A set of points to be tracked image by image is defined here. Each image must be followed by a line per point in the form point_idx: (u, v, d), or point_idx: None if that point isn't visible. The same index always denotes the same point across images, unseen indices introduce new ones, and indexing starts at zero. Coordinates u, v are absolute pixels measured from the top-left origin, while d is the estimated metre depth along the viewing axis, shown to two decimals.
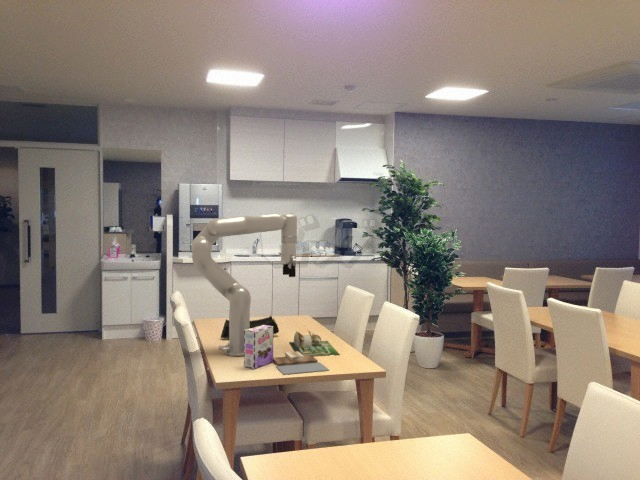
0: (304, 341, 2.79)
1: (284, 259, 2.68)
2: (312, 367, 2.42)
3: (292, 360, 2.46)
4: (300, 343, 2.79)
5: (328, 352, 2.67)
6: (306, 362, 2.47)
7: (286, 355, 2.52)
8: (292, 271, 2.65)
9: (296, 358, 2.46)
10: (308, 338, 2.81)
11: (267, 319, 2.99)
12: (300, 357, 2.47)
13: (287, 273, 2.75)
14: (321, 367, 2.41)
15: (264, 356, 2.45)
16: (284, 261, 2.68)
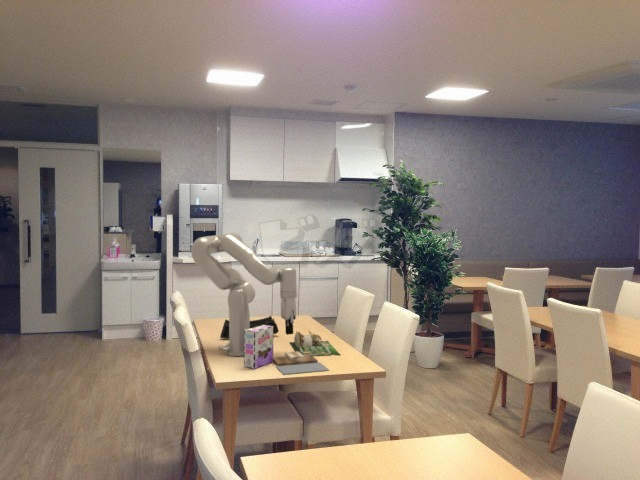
0: (304, 341, 2.79)
1: (284, 315, 2.57)
2: (312, 367, 2.42)
3: (292, 360, 2.46)
4: (300, 343, 2.79)
5: (328, 352, 2.67)
6: (306, 362, 2.47)
7: (286, 355, 2.52)
8: (289, 328, 2.58)
9: (296, 358, 2.46)
10: (308, 338, 2.81)
11: (267, 319, 2.99)
12: (300, 357, 2.47)
13: None
14: (321, 367, 2.41)
15: (264, 356, 2.45)
16: (284, 317, 2.57)
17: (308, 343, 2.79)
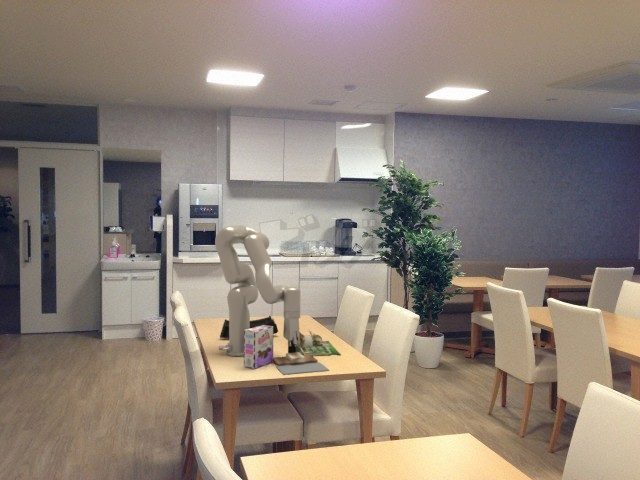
0: (305, 341, 2.79)
1: (287, 335, 2.52)
2: (312, 367, 2.42)
3: (293, 361, 2.44)
4: (301, 343, 2.79)
5: (329, 352, 2.67)
6: (306, 362, 2.47)
7: (287, 356, 2.50)
8: (292, 349, 2.53)
9: (297, 359, 2.45)
10: (309, 338, 2.81)
11: (266, 319, 2.99)
12: (301, 358, 2.45)
13: None
14: (321, 367, 2.41)
15: (264, 356, 2.45)
16: (287, 337, 2.52)
17: (309, 343, 2.79)
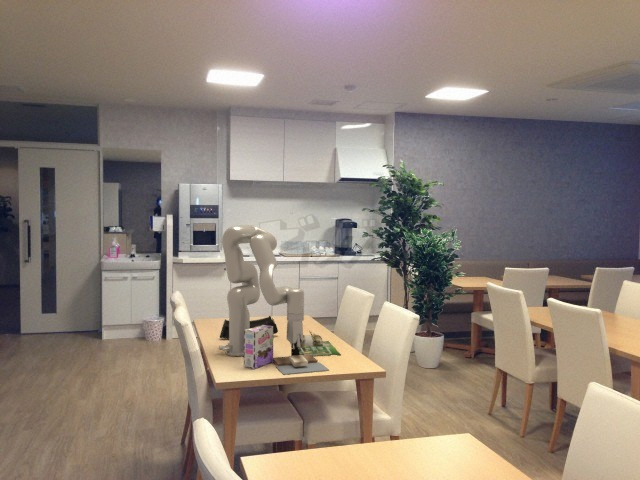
0: (305, 341, 2.79)
1: (290, 338, 2.47)
2: (312, 367, 2.42)
3: (296, 365, 2.39)
4: (301, 343, 2.79)
5: (329, 352, 2.67)
6: None
7: (290, 359, 2.45)
8: (295, 352, 2.48)
9: (300, 363, 2.40)
10: (309, 338, 2.81)
11: (266, 319, 2.99)
12: (304, 362, 2.40)
13: None
14: (321, 367, 2.41)
15: (264, 356, 2.45)
16: (290, 340, 2.47)
17: (309, 343, 2.79)
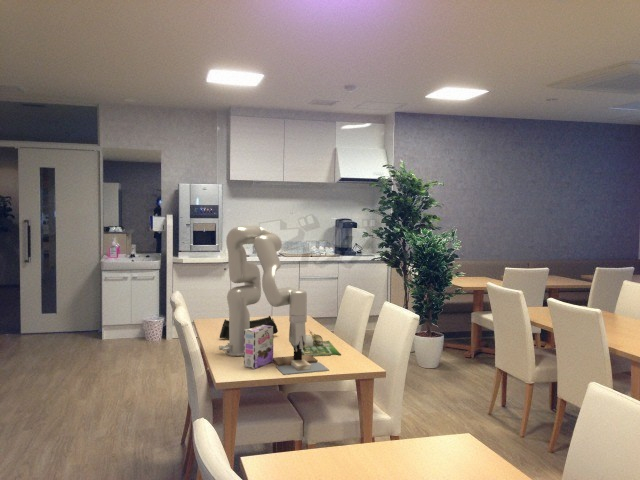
0: None
1: (292, 340, 2.43)
2: (312, 367, 2.42)
3: (299, 369, 2.36)
4: None
5: (329, 352, 2.67)
6: None
7: (292, 363, 2.42)
8: (298, 354, 2.45)
9: (303, 367, 2.37)
10: (309, 338, 2.81)
11: (266, 319, 2.99)
12: (307, 366, 2.37)
13: None
14: (321, 367, 2.41)
15: (264, 356, 2.45)
16: (292, 342, 2.43)
17: (309, 343, 2.79)
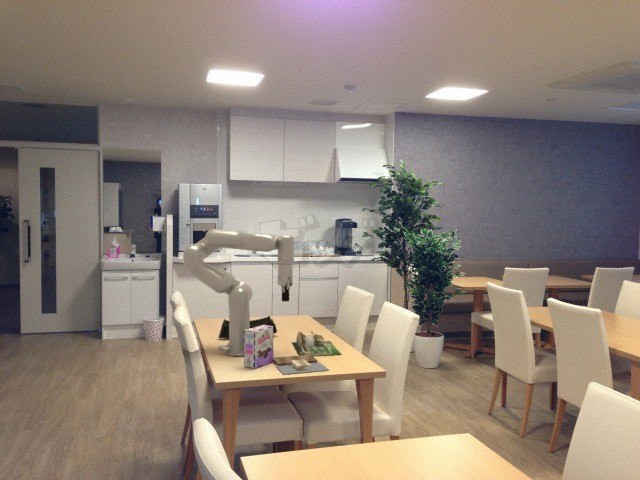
0: (306, 341, 2.79)
1: (280, 281, 2.60)
2: (312, 367, 2.42)
3: (299, 369, 2.36)
4: (302, 343, 2.79)
5: (330, 352, 2.67)
6: None
7: (292, 364, 2.42)
8: (286, 295, 2.62)
9: (303, 367, 2.37)
10: (310, 338, 2.81)
11: (265, 319, 2.98)
12: (307, 366, 2.37)
13: None
14: (321, 367, 2.41)
15: (264, 356, 2.45)
16: (280, 283, 2.60)
17: (310, 343, 2.79)
